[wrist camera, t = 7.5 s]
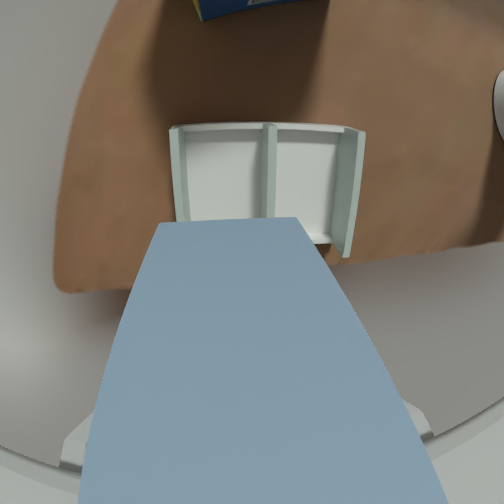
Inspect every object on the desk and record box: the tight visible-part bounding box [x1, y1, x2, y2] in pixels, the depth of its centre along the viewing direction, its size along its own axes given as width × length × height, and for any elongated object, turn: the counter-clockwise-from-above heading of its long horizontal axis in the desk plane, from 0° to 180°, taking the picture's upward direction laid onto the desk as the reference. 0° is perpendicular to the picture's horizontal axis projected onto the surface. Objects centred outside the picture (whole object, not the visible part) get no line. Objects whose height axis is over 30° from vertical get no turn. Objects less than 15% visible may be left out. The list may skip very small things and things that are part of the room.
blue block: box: [78, 217, 449, 504], centre depth 9 cm, size 6×8×12 cm
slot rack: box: [169, 122, 366, 258], centre depth 30 cm, size 19×14×6 cm
